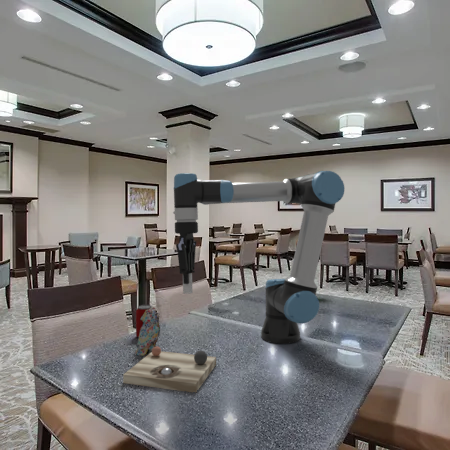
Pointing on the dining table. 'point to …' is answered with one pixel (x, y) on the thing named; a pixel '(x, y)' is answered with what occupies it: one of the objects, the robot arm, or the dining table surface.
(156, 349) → the pink rubber ball
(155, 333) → the figurine
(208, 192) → the robot arm
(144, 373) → the board
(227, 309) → the dining table surface
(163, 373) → the steel ball
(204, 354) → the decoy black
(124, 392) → the dining table surface
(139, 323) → the beverage can
